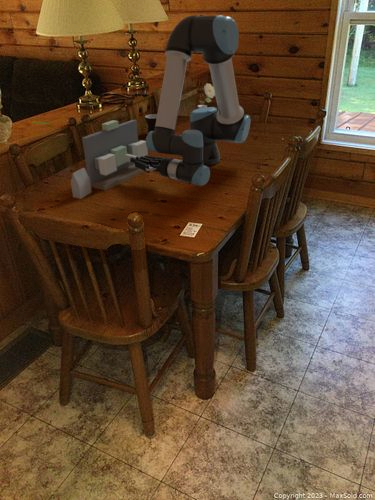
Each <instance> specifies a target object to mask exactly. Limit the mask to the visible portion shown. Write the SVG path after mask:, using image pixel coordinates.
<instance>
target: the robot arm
mask: <svg viewBox="0 0 375 500" xmlns="http://www.w3.org/2000/svg"><path fill="white" fill-rule="evenodd" d="M239 38H240V33H239V28H238V24H237V22H236V21H235V19H234V18H232V17H231V16H227V15H226V16H225V15H221V14H219V15H196V14H195V15H188V16H186V17H184V18H182V19H181V20H180V21H179V22H178V23H177V24H176V25H175V27H174V28H173V29H172V32H171V33H170V34H169V37H168V39H167V42H166V44H165V45H166V47H165V50H164V55H165V57H166V63H165V68H164V72H163V74H164V75H163V79H162V85H161V91H160V95H159V96H160V97H159V102H158V107H157V113H156V114H157V119H156V125H155V130H154V131H150V132H149V133H148V132H147V135H146V137H145V141H146V146H147V148H148V151H150V152H153V153H156V154H157V153H158V154H163V155H165V154H166V155H171V156H178V157H182V159H177V158H172V157H169V156H156V155H155V156H154V155H149V154H148V155H145V157H143V156H141V157H139V156H135V155H131V154H126V155H125V157H126V161H127V162H131V163H135V167H137V168H140V169H142V170H144V172H145V173H147V174H149V173H150V172H151V171H153V172H155V173H156V172H157V173H159V174H160V175H161V176H162V177H164V178H168V179H172V180H176V181H178V182H184V183H188V184H191V185H195V186H200V187H201V186H205V185H206V184H207V183H209V180H210V177H211V169H210V167H209V166H212V165H216V164H218V163H219V162H221V154H220V151H219V148H218V144H217V141H220V142H228V143H233V144H243V143H245V141H246V139H247V138H248V135H249V131H250V127H251V116H250V115H248V114H245V111H244V108H243V107H242V106H241V105H240V102H239V96H238V90H237V84H236V78H235V77H236V76H235V71H234V70H235V69H234V67H233V59H232V58H233V57H234V56H235V53H236V51H237V50H238V48H239ZM193 53H201V55H202V58H203V61H204V63H206V64H208V67H209V72H210V77H211V82H212V86H213V87H214V91H215V96H214V97H215V101H216V105H217V107H214V106H209V107H208V106H207V107H205V108H199V107H198V108H196V109H193V110H192V111H191V112H190V117H189V118H190V119H189V124H190V125H189V127H190V129H186V130H184V131H183V132H182V134H176V133H175V131H176V126H177V120H178V115H179V110H180V106H181V105H180V104H181V100H182V93H183V88H184V82H185V76H186V71H187V67H188V62H190V61H191V59H192V55H193Z"/></svg>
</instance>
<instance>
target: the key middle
mask: <svg viewBox="0 0 375 500" xmlns="http://www.w3.org/2000/svg"><path fill="white" fill-rule="evenodd" d="M111 154H114V155H115V157H116V166H120V165H122V164H124V163H126V162H127V161H126V157H125V155H126V154H127V147H126V146H119V147H116V148H114V149H111Z"/></svg>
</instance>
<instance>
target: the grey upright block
mask: <svg viewBox="0 0 375 500" xmlns="http://www.w3.org/2000/svg"><path fill="white" fill-rule="evenodd" d="M71 175H72V176H71V181H70V187H71V192H72V198H75V199H80V200H81V199H83V198H85V197H86V196H89V195H90V194H91V193H92V187H91V185H90V178H89V176H88V174H87V169H86V168H85V167H82V168H80V169H78V170H76V171H74V172H73V173H72V174H71Z"/></svg>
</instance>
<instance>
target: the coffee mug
mask: <svg viewBox="0 0 375 500" xmlns="http://www.w3.org/2000/svg"><path fill="white" fill-rule="evenodd" d="M157 114H158V113H154V114H147V115H145V116H144V117H145V123H146V129H147V134H148V133H149V132H150V131H154V130H155V125H156V119H157Z"/></svg>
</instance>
